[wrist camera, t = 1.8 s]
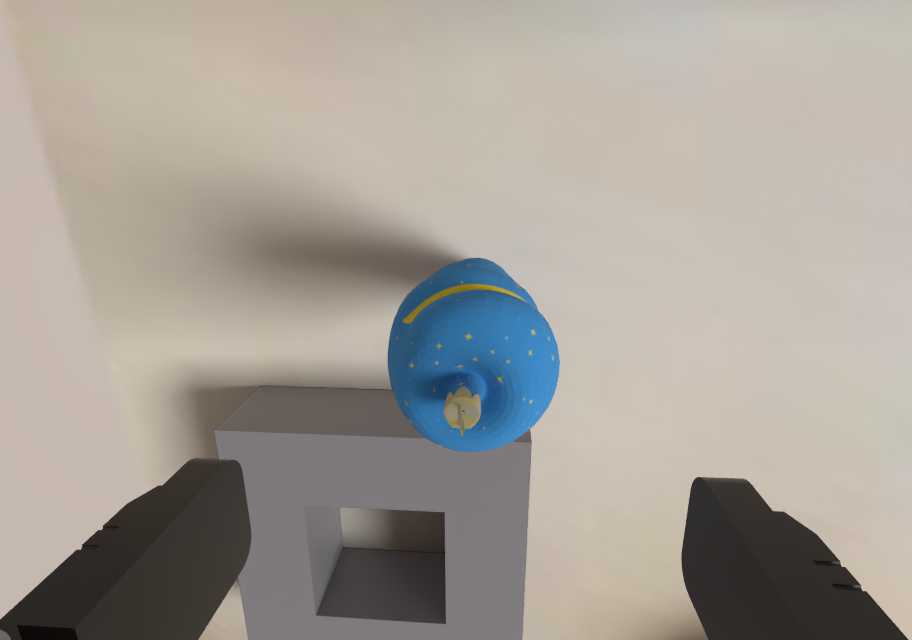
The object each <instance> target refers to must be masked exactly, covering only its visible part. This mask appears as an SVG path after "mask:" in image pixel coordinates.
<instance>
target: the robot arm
mask: <svg viewBox="0 0 912 640" xmlns="http://www.w3.org/2000/svg"><path fill="white" fill-rule="evenodd" d="M250 546H251V525H250V518H249V511H248V505H247V498H246V491H245V485H244V478H243V472H242V468H241V465H240V464H239V462H238V461H236V460H230V459H201V458H194V459H191V460H189V461H188V462H187V463H186V464H185V465H184V466H182V467H181V468H180V469H179V470H178V471H177V472H176V473H175V474H174V475H173V476H172V477H171V478H170V479H169V480H168V481H167V482H166V483H165V484H164V485H163V486H157V487H155V488H154V489H152V490H150V491H148V492H147V493H145V494H143V495H142V496H140V497H138V498H136V499H135V500H133V501H131V502H129V503H128V504H126V505H125V506H124V507H123V508H122V509H121V510H120V511H119V512H118V513H117V514H116V515H114V516H113V517H112V518H111V519H110V520H109V521H108V522H107V523H106V524H104V525H103V529H102V530H98V531H97V532H96V533H95V534H94V535H93V536H92V537H90V538H89V539H88V540H87V541H86V542H85V543H84V544H83V545H82V549H81V550H76V551H75V552H74V553H73V554H72V555H71V556H69V557H68V558H67V559H66V560H65V561H64V562H63V563H62V564H61V565H60V566H58V568H56V569H55V570H54V571H53V572H52V573H51V574H50V575H49V576H47V577H46V578H45V579H44V580H43V581H42V582H41V583H40V584H39V585H38V586H37V587H35V588H34V590H32V591H31V592H30V593H29V594H28V595H27V596H26V597H25V598H23V599H22V601H20V602H19V603H18V604H17V605H16V606H15V607H14V608H13V609H11V610H10V611H9V612H8V613H7V614H6V615H5V616H4V617H3V618H1V619H0V640H198V639H199V638H200V636H201V634H202V633H203V631H204V630H205V628H206V626H207V625H208V623H209V622H210V620H211V619H212V617H213V615H214V614H215V612H216V611H217V609H218V607H219V606H220V604H221V603H222V601H223V600H224V598H225V596H226V595H227V593H228V592H229V590H230V588H231V587H232V585H233V584H234V582H235V581H236V579H237V577H238V576H239V574H240V573H241V571H242V569H243V567H244V566H245V563H246V561H247V558H248V555H249V551H250ZM682 571H683V577H684V582H685V586H686V589H687V592H688V594H689V597H690V599H691V601H692V603H693V606H694V608H695V610H696V612H697V615H698V617H699V619H700V621H701V623H702V626H703V628H704V630H705V632H706V635H707V637H708V639H709V640H908V639H907V638H906V636H905V635H904V634H903V633H902V632H901V631H900V630H899V628H898V627H897V626H896V625H895V624H894V623H893V622H892V620H891V619H890V618H889V617H888V616H887V615H886V613H885V612H884V611H883V610H882V609H881V608H880V607H879V605H878V604H877V603H876V602H875V601H874V600H873V599H872V597H871V596H870V595H869V594H868V593H867V592H866V591H862V590H861V585H860V584H859V582H858V581H857V580H856V579H855V578H854V577H853V576H852V574H851V573H850V572H849V571H848V570H847V569H846V568H845V567H841V564H840V561H839V560H838V558H837V557H836V556H835V555H834V554H833V553H832V551H831V550H830V549H829V548H828V547H827V546H826V545H825V543H824V542H823V541H822V540H821V539H820V538H819V537H818V535H817V534H815V533H814V532H812V531H811V530H809V529H808V528H807V527H805V526H804V525H802V524H801V523H799V522H798V521H796V520H795V519H794V518H792V517H791V516H789V515H788V514H786V513H785V512H777V511H772V510H771V508H770V507H769V506H768V505H767V503H766V502H765V501H764V500H763V498H762V497H761V496H760V495H759V493H758V492H757V491H756V490H755V488H754V487H753V486H752V485H751V484H750V482H749V481H747V480H745V479H735V478H707V477H697V478H696V479H695V480H694V481H693V483H692V486H691V491H690V498H689V505H688V512H687V519H686V526H685V533H684V540H683V547H682Z"/></svg>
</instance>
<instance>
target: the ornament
mask: <svg viewBox="0 0 912 640" xmlns="http://www.w3.org/2000/svg"><path fill="white" fill-rule="evenodd" d="M559 364H560V361H559V354H558V347H557V344H556V341H555V338H554V335H553V332H552V330H551V328H550V326H549V324H548V322H547V321H546V320H545V318H544V317H543V316H542V315H541V314H540V313H539V312H538V309H537V306H536V304H535V303H534V301H533V299H532V298H531V296H530V295H529V294H528V293H527V292H526V290H525V289H524V288H522V287H521V286H520V285H519V284H517V283H516V282H515V281H514V280H513V279H512V278H511V277H510V276H509V275H508V274H507V273H506V272H505V271H504V270H503V269H502V268H501V267H500V266H498V265H497V264H495V263H494V262H491V261H489V260H487V259H482V258H470V259H466V260H462V261H459V262H457V263H453V264H450V265H448V266H446V267H444V268H442V269H440V270H439V271H437V272H436V273H435V274H433V275H432V276H431V277H429V278H428V279H426V280H425V281H423V282H422V283H420V284H419V285H418V286H416V287H415V288H414V289H413V290H412V291H411V292H410V293H409V294H408V295H407V297H406V298H405V299H404V300H403V302H402V304H401V305H400V307H399V309H398V311H397V314H396V316H395V319H394V322H393V325H392V328H391V333H390V339H389V348H388V370H389V376H390V382H391V386H392V390H393V393H394V395H395V398H396V400H397V403H398V405H399V407H400V409H401V411H402V413H403V414H404V416H405V417H406V419H407V420H408V421H409V423H410V424H411V425H412V426H413V427H414V428H415V429H416V430H417V431H418V432H419V433H420V434H421V435H422V436H424V437H425V438H427V439H428V440H429V441H431V442H433V443H435V444H437V445H439V446H441V447H444V448H447V449H451V450H455V451H462V452H480V451H486V450H491V449H495V448H499V447H501V446H504V445H506V444H508V443H510V442H512V441H514V440H515V439H517V438H518V437H520V436H521V435H523V434H524V433H526V432H527V431H528V430H529V429H530V428H532V427H533V426H534V425H535V424H536V422H537V421H538V420H539V419H540V417H541V416H542V415H543V413H544V412H545V410H546V409H547V408H548V406H549V404H550V402H551V400H552V398H553V395H554V393H555V389H556V385H557V381H558V376H559Z"/></svg>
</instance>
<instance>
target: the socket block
mask: <svg viewBox="0 0 912 640" xmlns="http://www.w3.org/2000/svg"><path fill="white" fill-rule="evenodd" d="M214 434H215V440H216V446H217V452H218V458H219V459H230V460H236V461H238V462H239V464H240V465H241V468H242V472H243V478H244V485H245V491H246V498H247V505H248V511H249V518H250V525H251V546H250V551H249V555H248V558H247V561H246V563H245V566H244V567H243V569H242V571H241V573H240V574H239V576H238V580H239V586H240V592H241V598H242V604H243V610H244V616H245V622H246V628H247V634H248V640H522V633H523V612H524V591H525V570H526V549H527V528H528V507H529V486H530V465H531V443H532V442H531V434H530V429H529V430H528V431H527V432H526V433H524V434H523V435H521V436H520V437H518V438H517V439H515V440H514V441H512V442H510V443H508V444H506V445H504V446H501V447H499V448H495V449H491V450H486V451H480V452H462V451H455V450H451V449H447V448H444V447H441V446H439V445H437V444H435V443H433V442H431V441H429V440H428V439H427V438H425V437H424V436H422V435H421V434H420V433H419V432H418V431H417V430H416V429H415V428H414V427H413V426H412V425H411V424H410V423H409V421H408V420H407V419H406V417H405V416H404V414H403V413H402V411H401V409H400V407H399V405H398V403H397V400H396V398H395V395H394V393H393V390H375V389H343V388H311V387H279V386H260V387H259V388H258V389H257V390H256V391H255V392H254V393H253V394H251V395H250V396H249V397H248V398H247V399H246V400H245V401H244V402H243V403H242V404H241V405H240V406H239V407H238V408H237V409H236V410H235V411H234V412H233V413H232V414H231V415H230V416H228V417H227V418H226V419H225V420H224V421H223V422H222V423H221V424H220V425H219V426H218V427H217V428H216V429H215V430H214ZM339 507H347V508H368V509H388V510H408V511H428V512H445V553H427V552H409V551H391V550H373V549H354V548H343V544H342V532H341V520H340V509H339Z"/></svg>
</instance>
